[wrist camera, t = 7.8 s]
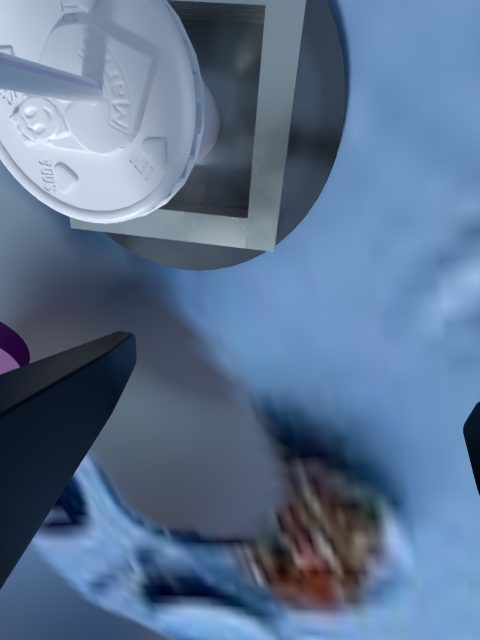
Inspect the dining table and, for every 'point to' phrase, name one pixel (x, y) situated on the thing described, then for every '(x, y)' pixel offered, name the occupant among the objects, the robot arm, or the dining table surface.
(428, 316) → the dining table surface
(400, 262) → the dining table surface
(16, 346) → the mounting bracket
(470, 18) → the dining table surface
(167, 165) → the smoothie
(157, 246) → the disk with square socket
